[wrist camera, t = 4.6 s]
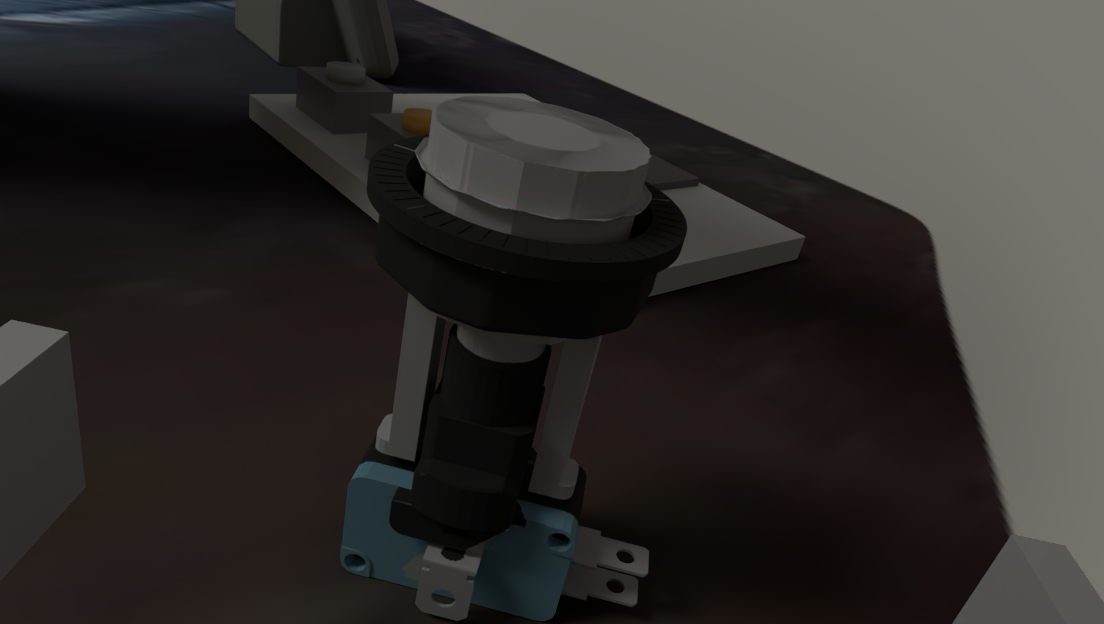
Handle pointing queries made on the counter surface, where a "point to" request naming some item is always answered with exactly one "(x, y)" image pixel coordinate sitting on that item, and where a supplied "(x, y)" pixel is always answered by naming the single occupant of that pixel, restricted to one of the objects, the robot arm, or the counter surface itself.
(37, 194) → the counter surface
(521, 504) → the push button
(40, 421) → the robot arm
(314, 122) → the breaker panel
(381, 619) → the counter surface
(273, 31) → the digital clock
